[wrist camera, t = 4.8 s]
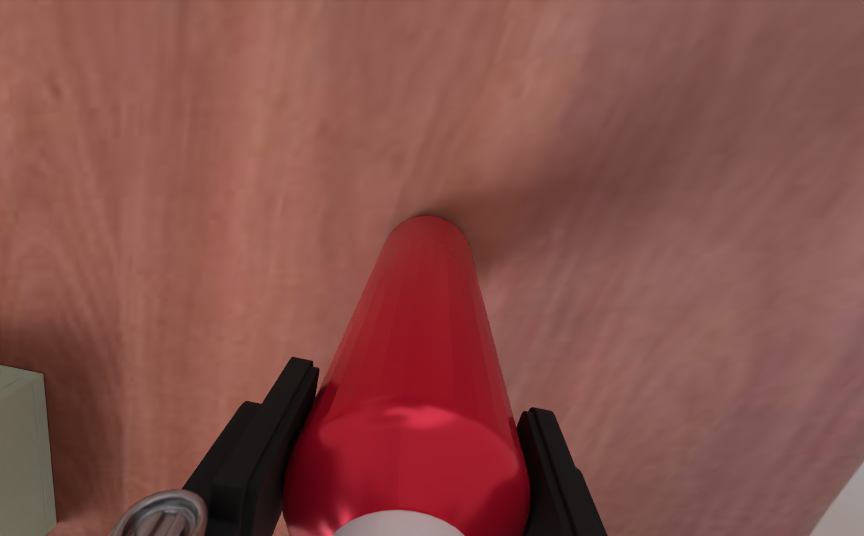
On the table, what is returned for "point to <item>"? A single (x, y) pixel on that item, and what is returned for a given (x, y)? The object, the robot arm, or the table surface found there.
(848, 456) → the table surface
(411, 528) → the bottle
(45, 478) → the box
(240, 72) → the table surface
